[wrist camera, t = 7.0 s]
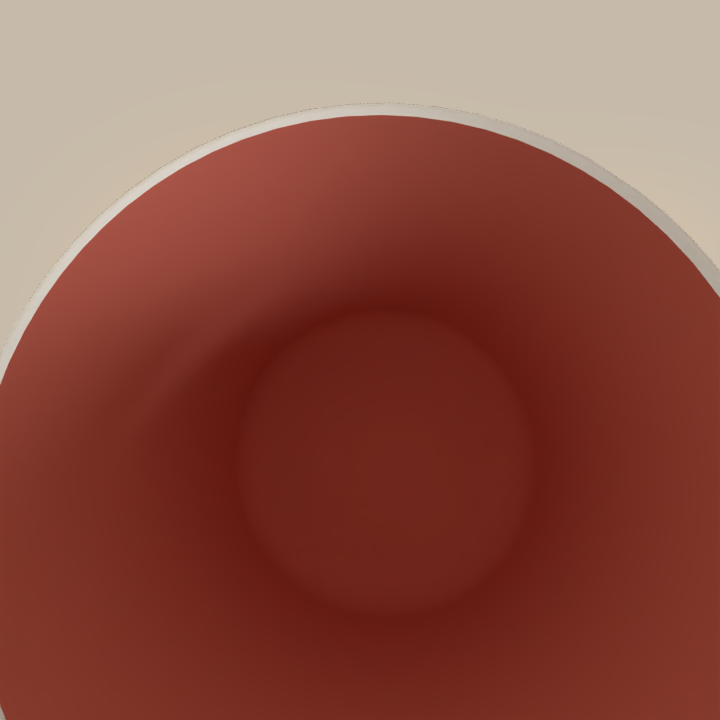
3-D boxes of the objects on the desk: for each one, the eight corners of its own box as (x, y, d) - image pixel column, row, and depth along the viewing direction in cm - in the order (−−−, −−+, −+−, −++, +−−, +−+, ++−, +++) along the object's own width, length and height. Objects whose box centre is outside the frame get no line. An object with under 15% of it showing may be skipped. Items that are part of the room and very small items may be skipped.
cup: (186, 476, 15) (-204, 538, 5) (357, 263, 16) (295, -16, 6) (412, 681, 13) (454, 1358, 3) (590, 425, 14) (1017, 389, 4)
